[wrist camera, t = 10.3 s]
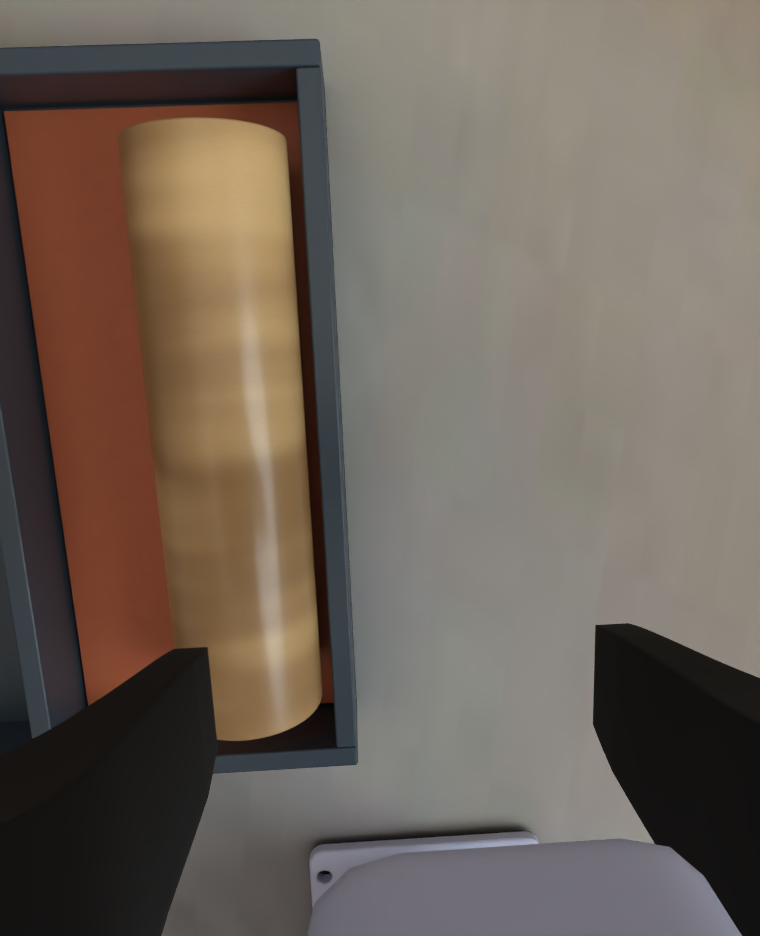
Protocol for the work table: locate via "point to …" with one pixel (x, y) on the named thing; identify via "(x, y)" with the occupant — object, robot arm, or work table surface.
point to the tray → (137, 379)
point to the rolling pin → (226, 409)
